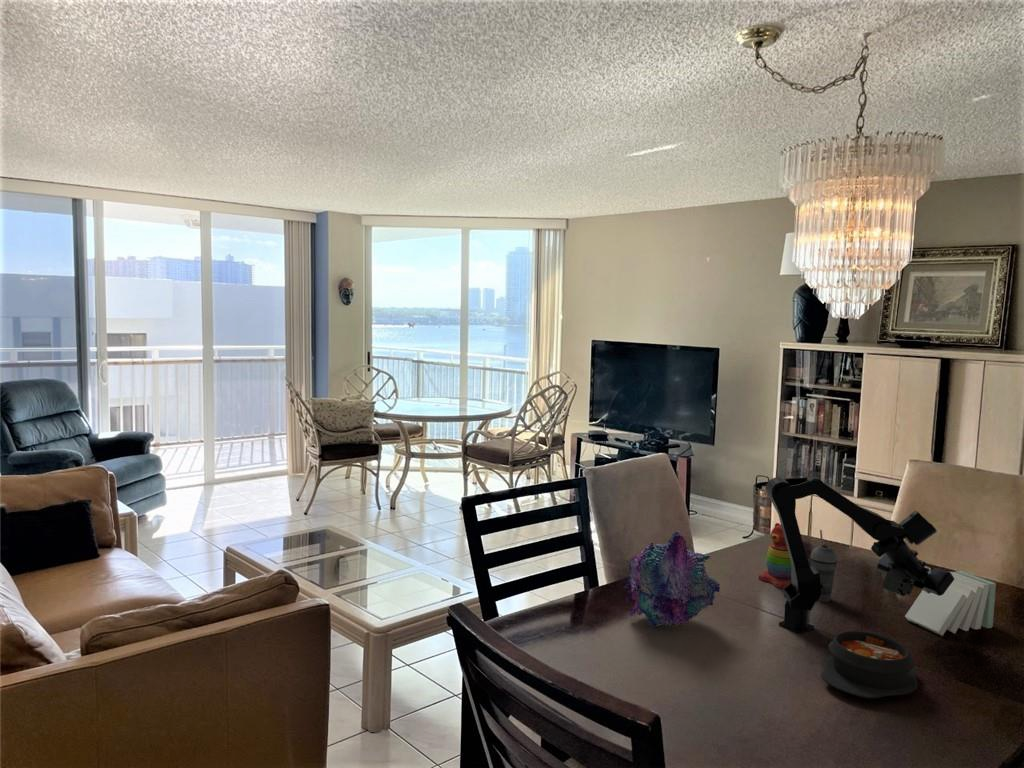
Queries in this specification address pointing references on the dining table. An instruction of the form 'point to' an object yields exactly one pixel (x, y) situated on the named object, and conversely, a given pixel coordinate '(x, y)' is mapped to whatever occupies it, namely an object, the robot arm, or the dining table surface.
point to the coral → (669, 583)
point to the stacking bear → (777, 560)
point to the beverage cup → (824, 568)
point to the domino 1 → (936, 610)
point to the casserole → (869, 665)
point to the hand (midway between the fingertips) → (929, 591)
